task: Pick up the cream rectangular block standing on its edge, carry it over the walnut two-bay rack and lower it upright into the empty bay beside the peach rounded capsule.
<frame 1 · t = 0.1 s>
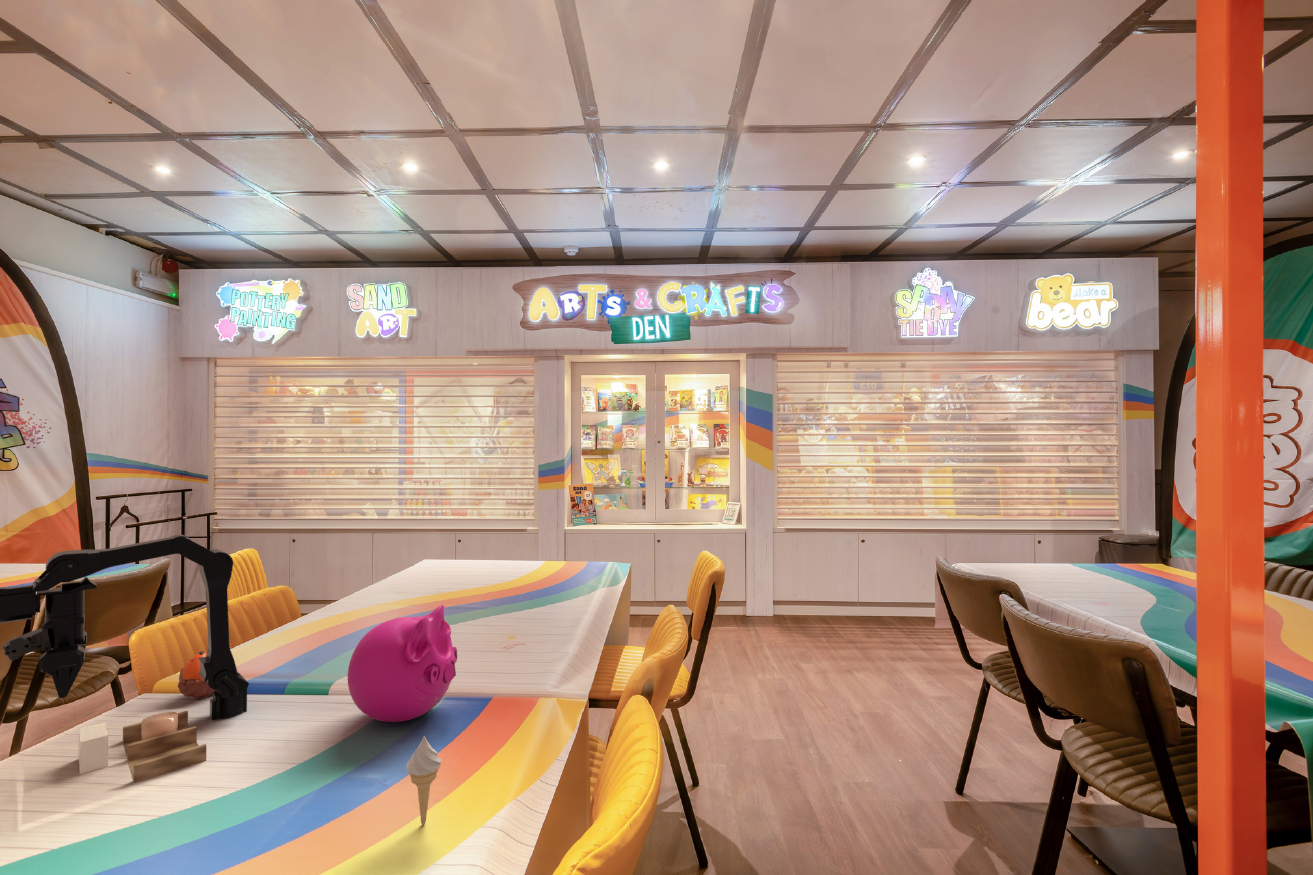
hand: (64, 690, 122), 14 cm above the table, fingers open, 9 cm apart
cream rectangular block: (92, 766, 120), on the table
peach rounded capsule: (159, 741, 128), point 1 cm above the table, touching rack
figurine: (405, 717, 142), on the table
rack: (163, 754, 124), on the table
orange rounded lump: (204, 696, 154), on the table
ice cream cone: (423, 825, 101), on the table
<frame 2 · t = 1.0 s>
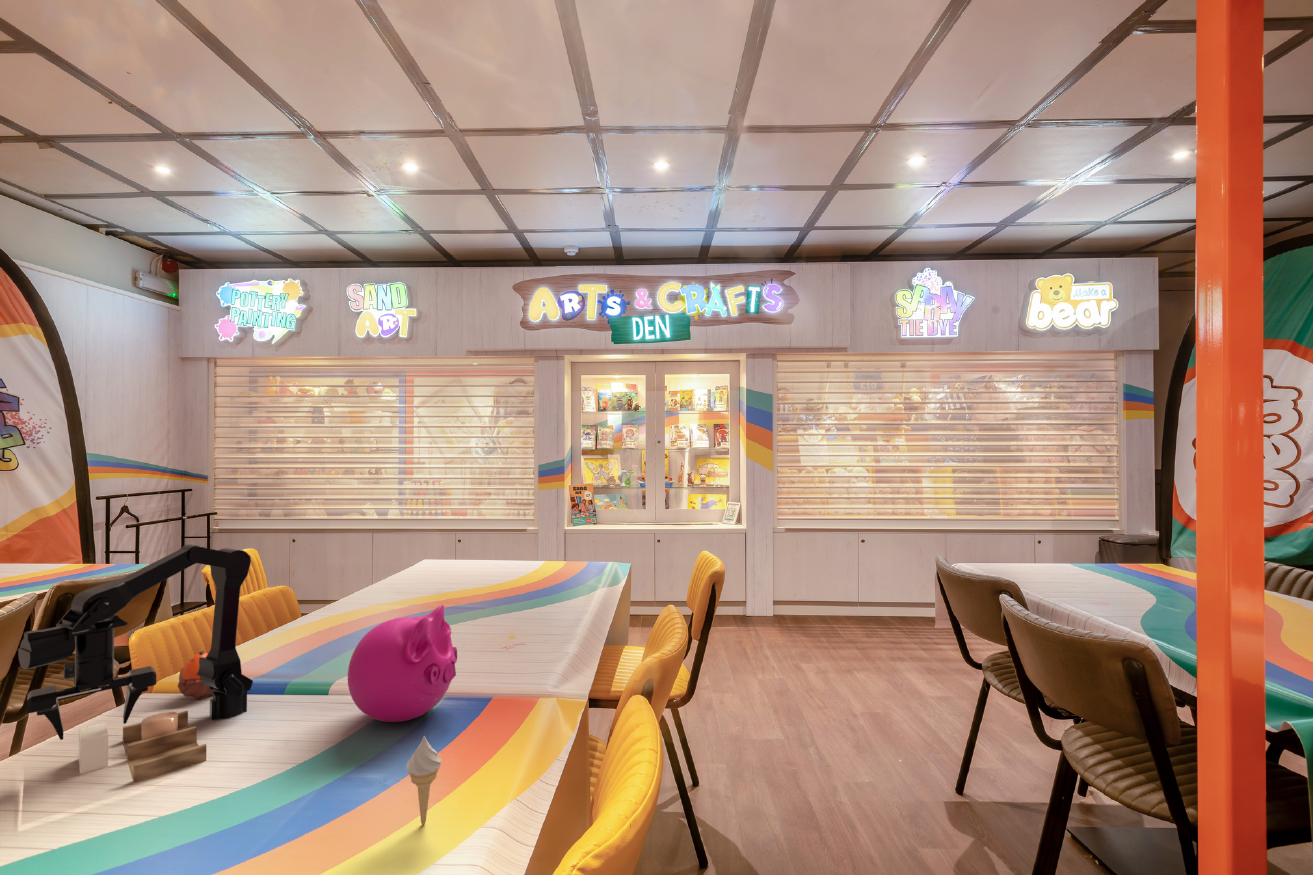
hand: (94, 730, 120), 7 cm above the table, fingers open, 9 cm apart
nothing on the table moved.
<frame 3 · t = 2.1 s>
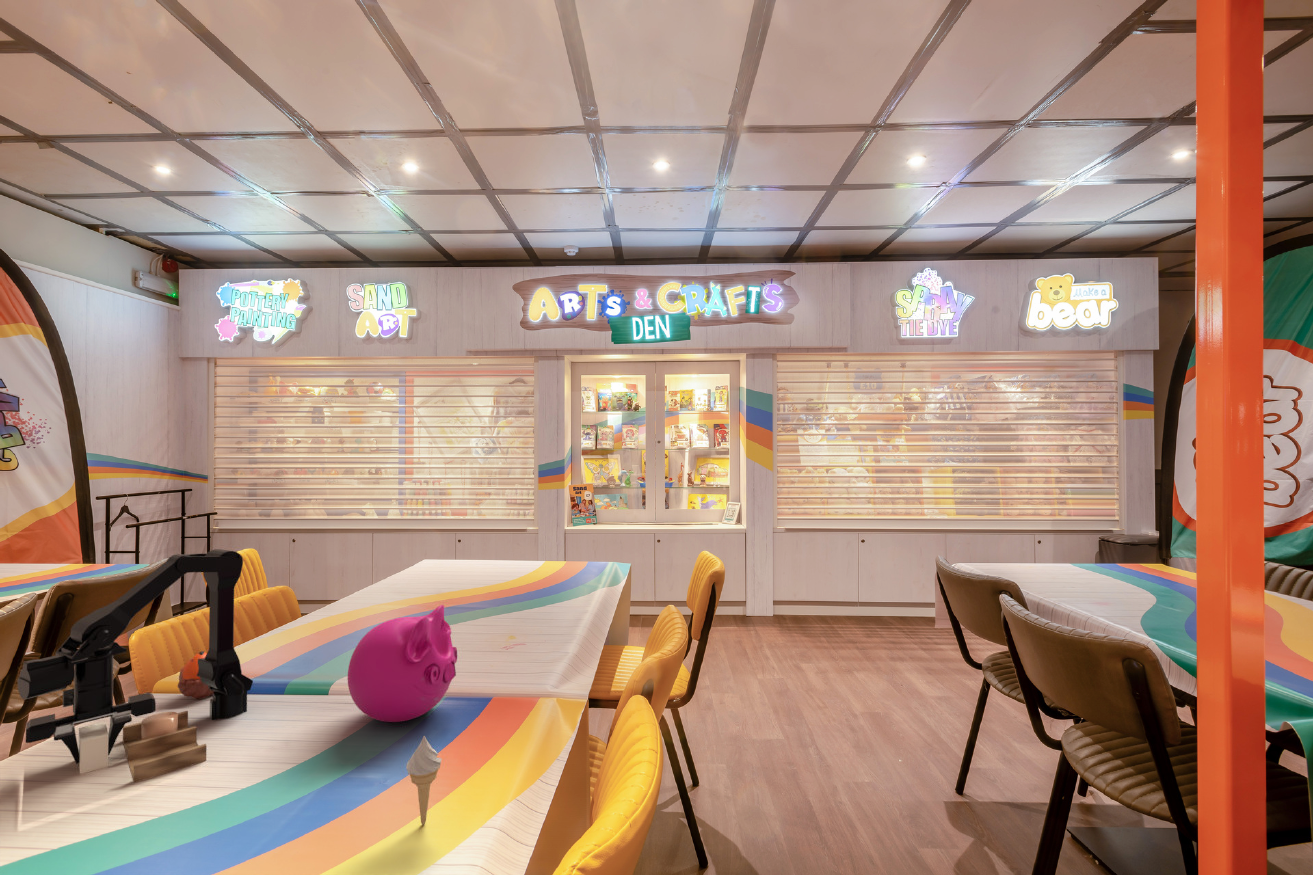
hand: (93, 758, 120), 2 cm above the table, fingers closed on cream rectangular block, 4 cm apart
cream rectangular block: (92, 766, 120), on the table, touching gripper
everything else where it was.
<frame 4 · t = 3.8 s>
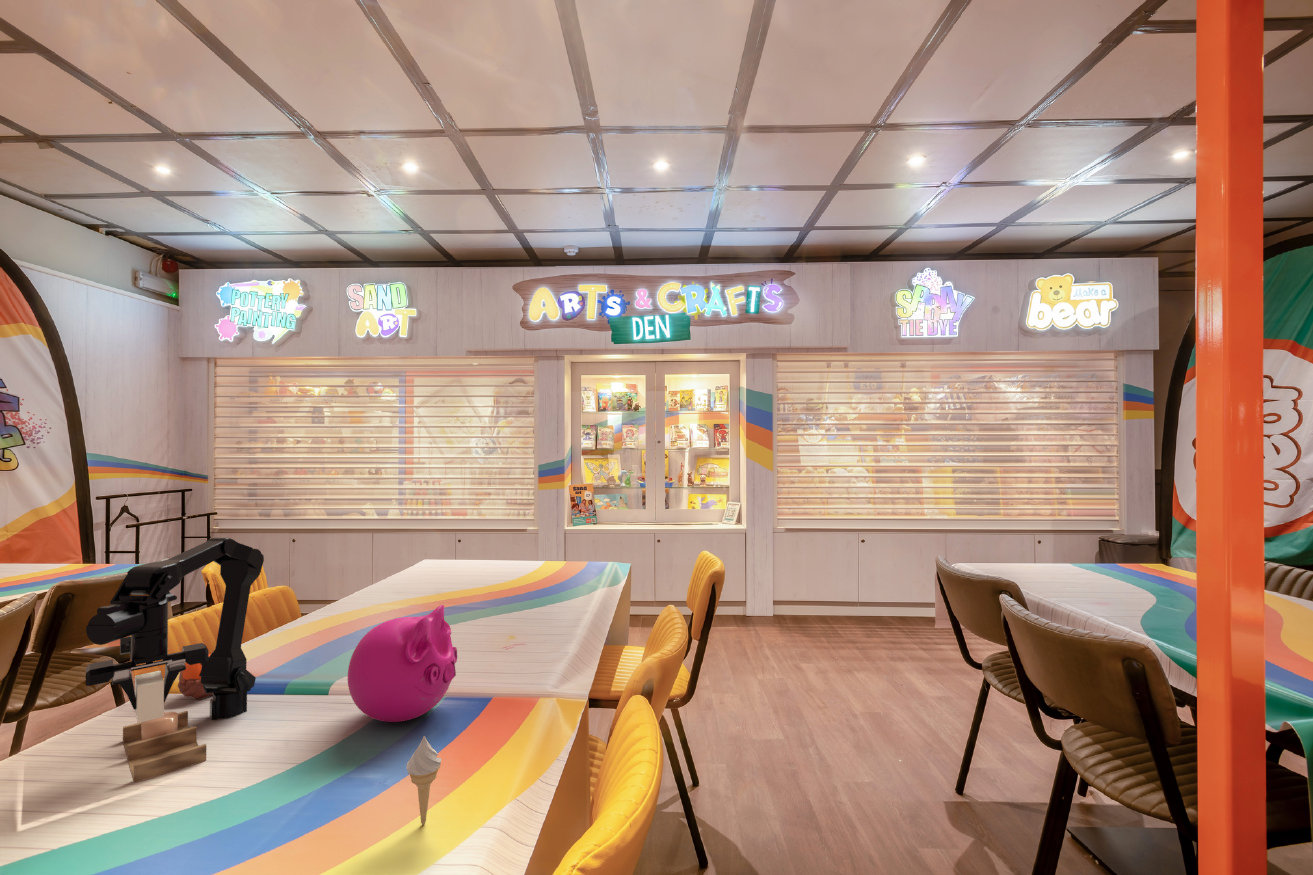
hand: (149, 705, 121), 12 cm above the table, fingers closed on cream rectangular block, 4 cm apart
cream rectangular block: (149, 713, 120), point 10 cm above the table, touching gripper
everything else where it was.
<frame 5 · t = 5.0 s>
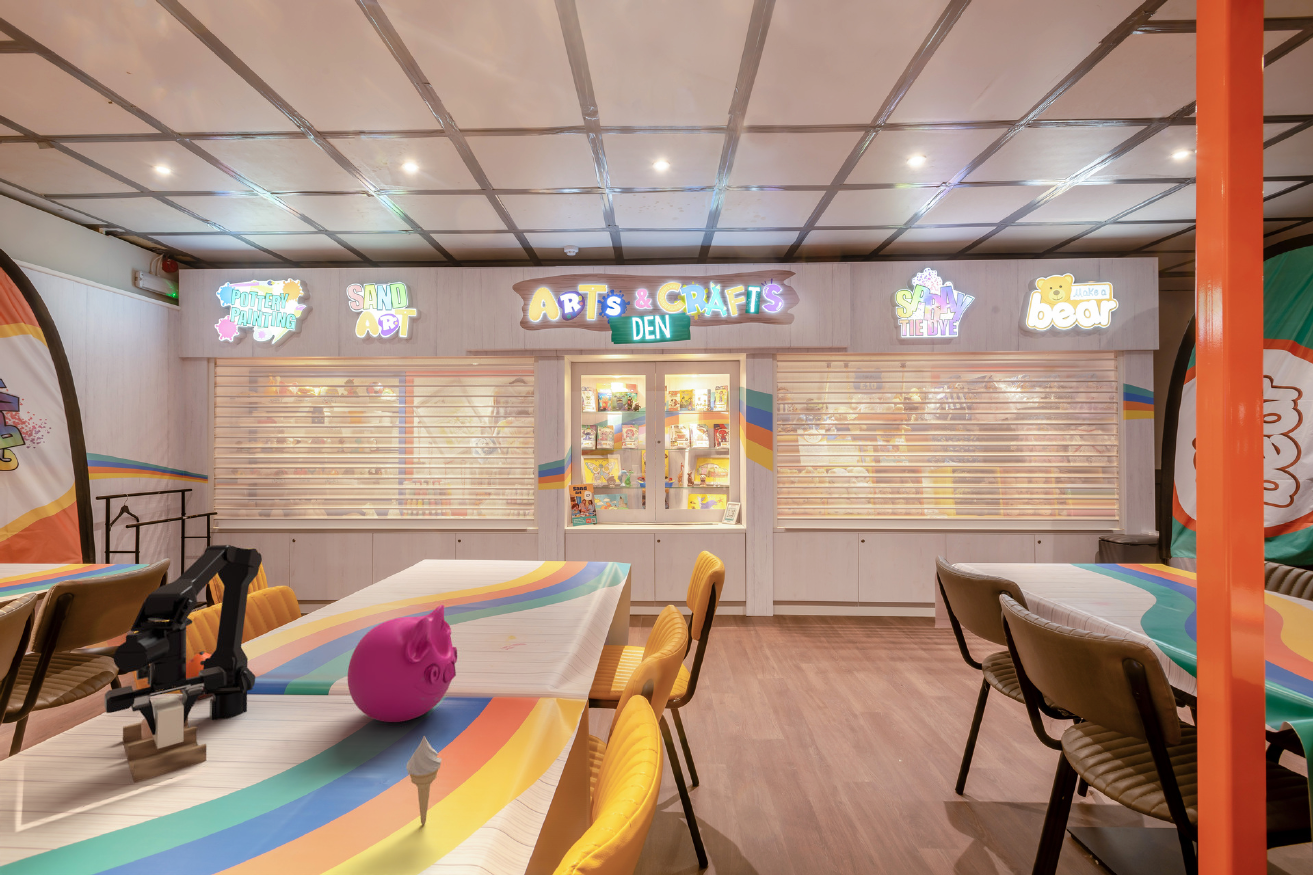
hand: (167, 730, 121), 7 cm above the table, fingers closed on cream rectangular block, 4 cm apart
cream rectangular block: (167, 738, 121), point 5 cm above the table, touching gripper
everything else where it was.
when the fingers open (4 cm above the table, at t = 5.8 s): cream rectangular block drops 2 cm, resting on rack.
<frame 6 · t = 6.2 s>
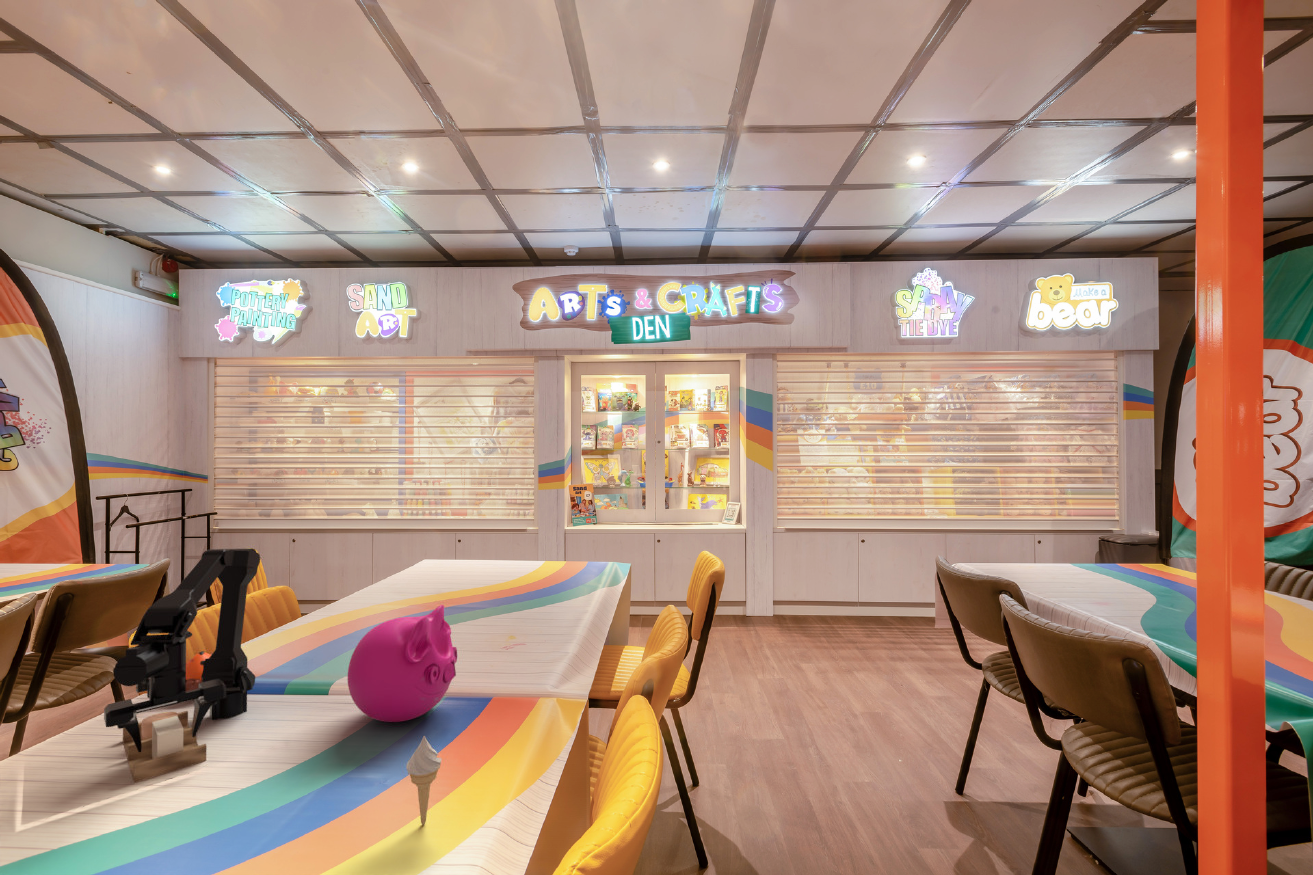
hand: (167, 743, 121), 4 cm above the table, fingers open, 8 cm apart
cream rectangular block: (167, 759, 121), point 1 cm above the table, touching rack
everything else where it was.
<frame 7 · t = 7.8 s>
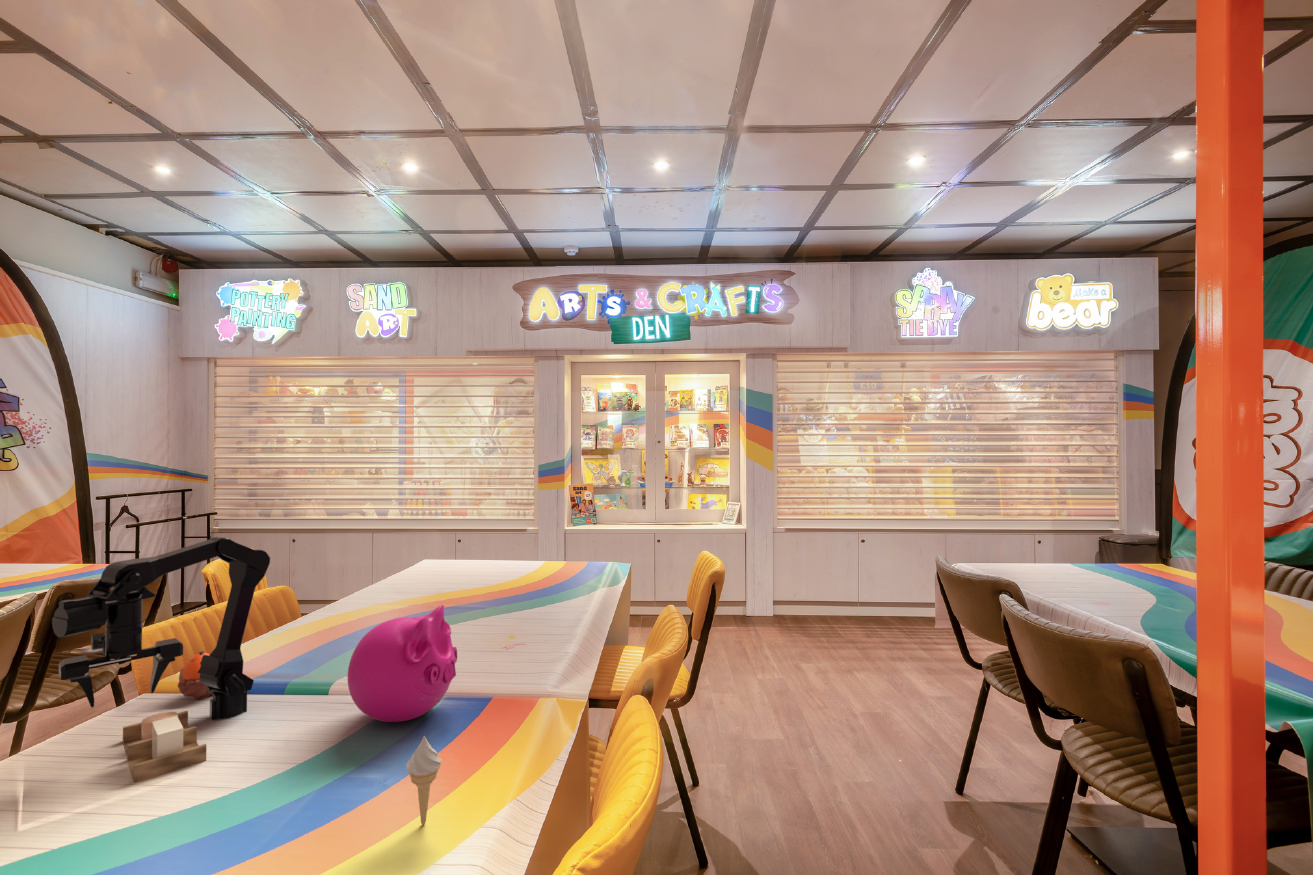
hand: (122, 699, 123), 12 cm above the table, fingers open, 9 cm apart
nothing on the table moved.
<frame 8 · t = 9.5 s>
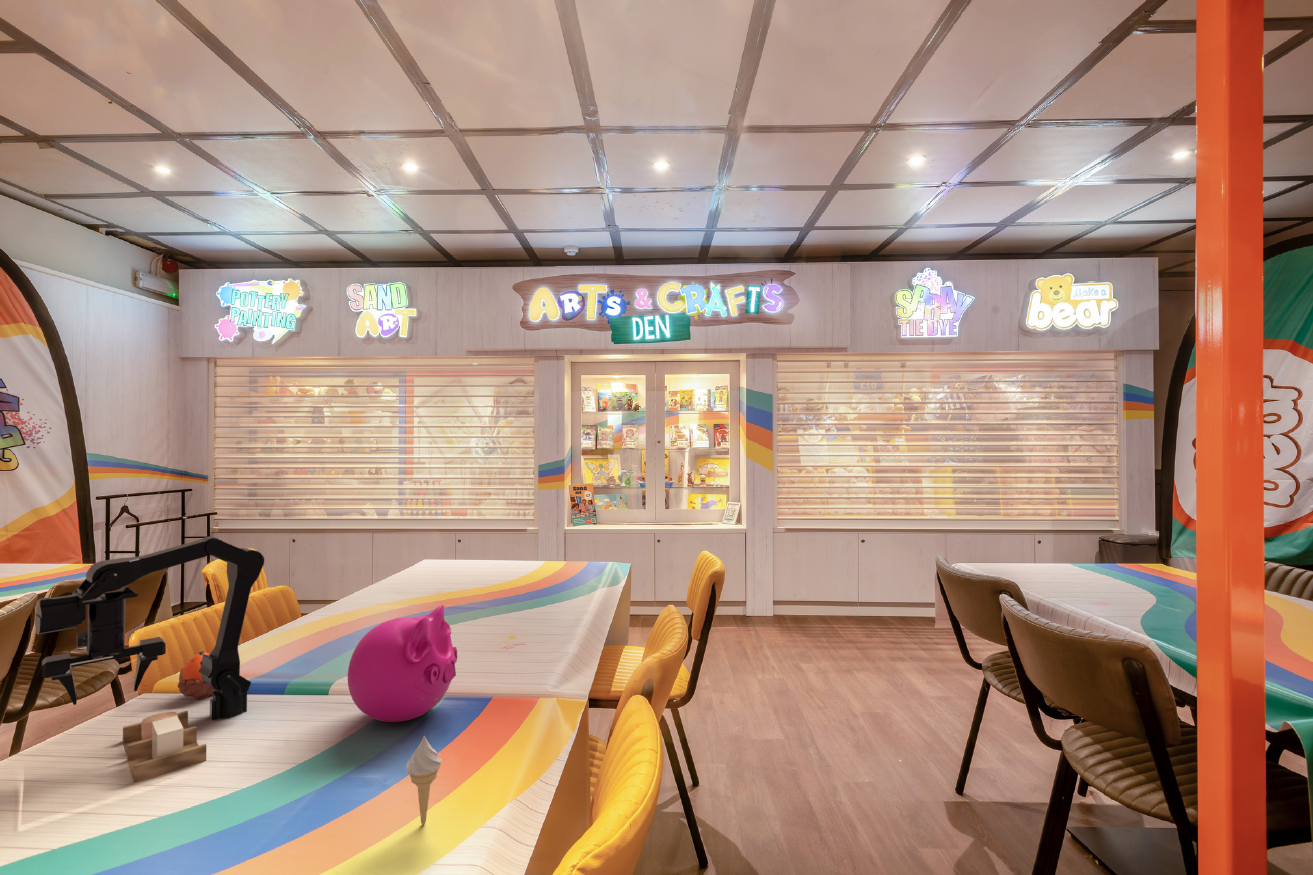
hand: (105, 697, 124), 12 cm above the table, fingers open, 9 cm apart
nothing on the table moved.
at the end: cream rectangular block inside the target area on the rack (0.2 cm from its centre), point 0.8 cm above the rack's base; cream rectangular block tilted 0°; the gripper is holding nothing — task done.
